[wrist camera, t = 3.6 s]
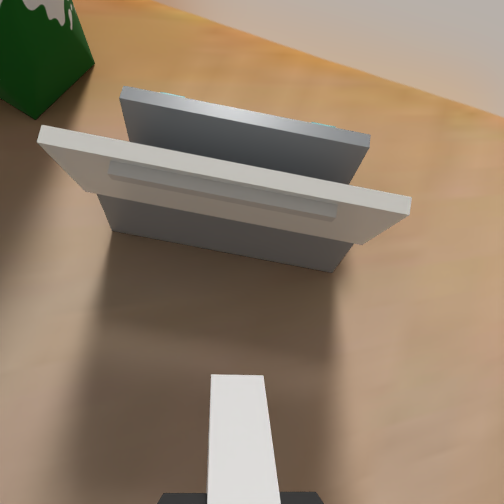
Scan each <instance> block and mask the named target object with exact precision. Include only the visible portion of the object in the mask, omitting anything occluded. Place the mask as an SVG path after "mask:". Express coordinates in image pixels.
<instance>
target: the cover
mask: <svg viewBox="0 0 504 504" xmlns="http://www.w3.org/2000/svg"><path fill="white" fill-rule="evenodd" d="M37 143H38V144H39V145H40V146H41V147H42V148H43V149H44V150H45V151H46V152H47V153H48V154H49V155H50V156H51V157H52V158H53V159H54V160H55V161H56V162H57V163H58V164H59V165H60V166H61V167H62V168H63V169H64V170H65V171H66V172H67V173H68V174H69V176H70V177H71V178H72V179H73V180H74V181H75V182H76V183H77V184H78V185H79V186H80V187H81V188H82V189H83V190H84V191H85V192H90V193H95V194H100V195H105V196H111V197H116V198H121V199H126V200H131V201H136V202H142V203H147V204H152V205H157V206H162V207H168V208H173V209H178V210H183V211H188V212H193V213H199V214H204V215H209V216H214V217H219V218H225V219H230V220H235V221H240V222H245V223H250V224H256V225H261V226H266V227H271V228H276V229H282V230H287V231H292V232H297V233H302V234H307V235H313V236H318V237H323V238H328V239H333V240H339V241H344V242H349V243H354V244H359V245H363V244H365V243H366V242H368V241H369V240H371V239H372V238H374V237H376V236H377V235H379V234H380V233H382V232H383V231H385V230H387V229H388V228H390V227H391V226H393V225H395V224H396V223H398V222H399V221H401V220H402V219H404V218H406V217H407V216H409V215H410V207H411V199H412V197H408V196H403V195H398V194H393V193H388V192H382V191H377V190H372V189H367V188H362V187H357V186H352V185H347V184H342V183H337V182H331V181H326V180H321V179H316V178H311V177H306V176H301V175H296V174H291V173H286V172H280V171H275V170H270V169H265V168H260V167H255V166H250V165H245V164H240V163H235V162H229V161H224V160H219V159H214V158H209V157H204V156H199V155H194V154H189V153H184V152H179V151H173V150H168V149H163V148H158V147H153V146H148V145H143V144H138V143H133V142H128V141H122V140H117V139H112V138H107V137H102V136H97V135H92V134H87V133H82V132H77V131H71V130H66V129H61V128H56V127H51V126H46V125H41V129H40V132H39V136H38V139H37Z"/></svg>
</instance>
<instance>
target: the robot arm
mask: <svg viewBox="0 0 504 504" xmlns="http://www.w3.org/2000/svg"><path fill="white" fill-rule="evenodd" d="M157 504H324V503H323V502H322V500H321V499H320V497H319V496H318V494H317V493H316V492H279V487H278V479H277V472H276V465H275V457H274V450H273V443H272V435H271V428H270V421H269V413H268V406H267V399H266V391H265V384H264V377H263V375H218V374H211V390H210V411H209V432H208V456H207V486H206V493H163V495H162V497H161V498H160V500H159V502H158V503H157Z"/></svg>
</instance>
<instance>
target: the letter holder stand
mask: <svg viewBox="0 0 504 504" xmlns="http://www.w3.org/2000/svg"><path fill="white" fill-rule="evenodd" d="M119 99H120V103H121V107H122V112H123V116H124V120H125V124H126V128H127V133H128V137H129V141H130V142H133V143H138V144H143V145H148V146H153V147H158V148H163V149H168V150H173V151H179V152H184V153H189V154H194V155H199V156H204V157H209V158H214V159H219V160H224V161H229V162H235V163H240V164H245V165H250V166H255V167H260V168H265V169H270V170H275V171H280V172H286V173H291V174H296V175H301V176H306V177H311V178H316V179H321V180H326V181H331V182H337V183H342V184H347V185H349V183H350V181H351V180H352V178H353V176H354V174H355V173H356V171H357V169H358V167H359V165H360V164H361V162H362V160H363V158H364V156H365V155H366V153H367V151H368V149H369V146H370V135H369V134H364V133H359V132H354V131H349V130H344V129H339V128H335V127H334V126H329V125H324V124H319V123H314V122H311V123H309V122H304V121H298V120H293V119H288V118H283V117H278V116H273V115H268V114H263V113H258V112H253V111H248V110H243V109H238V108H233V107H228V106H223V105H218V104H213V103H208V102H203V101H198V100H193V99H188V98H185V97H184V96H179V95H173V94H168V93H163V92H160V93H158V92H153V91H148V90H143V89H138V88H133V87H128V86H123V89H122V92H121V94H120V97H119ZM97 196H98V198H99V200H100V203H101V205H102V208H103V210H104V212H105V215H106V217H107V220H108V222H109V224H110V227H111V229H112V231H116V232H121V233H127V234H132V235H137V236H142V237H148V238H153V239H158V240H163V241H168V242H174V243H179V244H184V245H189V246H195V247H200V248H205V249H210V250H216V251H221V252H226V253H231V254H236V255H242V256H247V257H252V258H257V259H263V260H268V261H273V262H278V263H284V264H289V265H294V266H299V267H305V268H310V269H315V270H320V271H325V272H331V273H332V272H333V271H334V270H335V268H336V267H337V266H338V264H339V263H340V262H341V260H342V259H343V258H344V256H345V255H346V254H347V252H348V251H349V250H350V248H351V247H352V246H353V244H354V243H349V242H344V241H339V240H333V239H328V238H323V237H318V236H313V235H307V234H302V233H297V232H292V231H287V230H282V229H276V228H271V227H266V226H261V225H256V224H250V223H245V222H240V221H235V220H230V219H225V218H219V217H214V216H209V215H204V214H199V213H193V212H188V211H183V210H178V209H173V208H168V207H162V206H157V205H152V204H147V203H142V202H136V201H131V200H126V199H121V198H116V197H111V196H105V195H100V194H97Z"/></svg>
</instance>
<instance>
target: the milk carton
mask: <svg viewBox="0 0 504 504" xmlns="http://www.w3.org/2000/svg"><path fill="white" fill-rule="evenodd" d="M94 64H95V63H94V60H93V57H92V54H91V52H90V49H89V46H88V43H87V41H86V38H85V35H84V32H83V30H82V27H81V24H80V21H79V19H78V16H77V13H76V10H75V8H74V5H73V2H72V0H0V98H1V99H2V100H4V101H6V102H7V103H9V104H10V105H12V106H14V107H15V108H17V109H19V110H20V111H22V112H24V113H25V114H27V115H28V116H30V117H32V118H33V119H35V120H36V119H37V118H38V117H39V116H40V115H41V114H42V113H43V112H44V111H45V110H46V109H47V108H49V107H50V106H51V105H52V104H53V103H54V102H55V101H56V100H57V99H58V98H59V97H60V96H61V95H62V94H63V93H64V92H65V91H66V90H67V89H69V88H70V87H71V86H72V85H73V84H74V83H75V82H76V81H77V80H78V79H79V78H80V77H81V76H82V75H83V74H84V73H85V72H86V71H88V70H89V69H90V68H91V67H92V66H93V65H94Z"/></svg>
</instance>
